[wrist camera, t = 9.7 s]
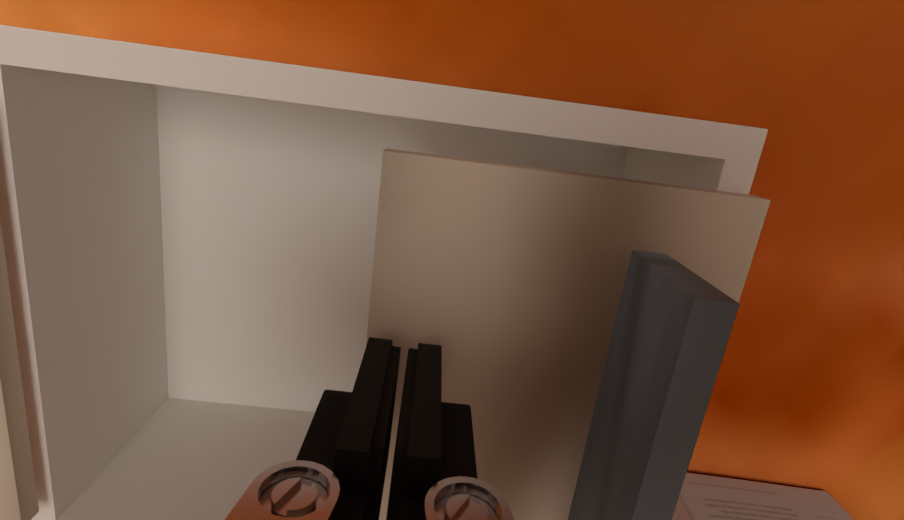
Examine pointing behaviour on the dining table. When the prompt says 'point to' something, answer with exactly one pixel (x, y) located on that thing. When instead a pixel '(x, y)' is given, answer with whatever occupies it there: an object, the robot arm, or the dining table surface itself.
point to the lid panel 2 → (563, 321)
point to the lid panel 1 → (13, 417)
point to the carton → (235, 246)
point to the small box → (752, 501)
